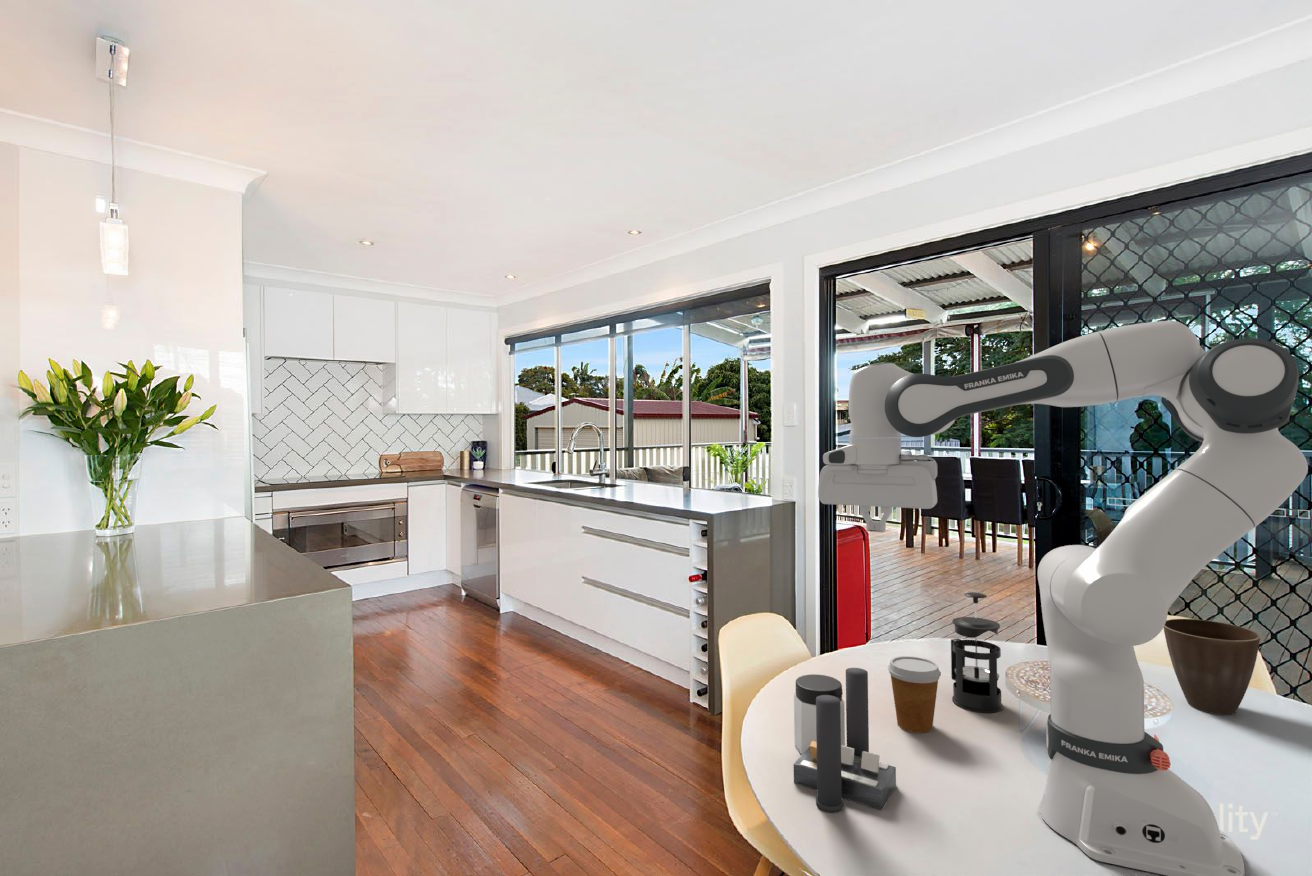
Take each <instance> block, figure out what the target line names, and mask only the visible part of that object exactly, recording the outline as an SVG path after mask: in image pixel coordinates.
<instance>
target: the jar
mask: <svg viewBox="0 0 1312 876" xmlns="http://www.w3.org/2000/svg"><path fill="white" fill-rule="evenodd" d="M820 695H831V696H835V697H837V698H839V699H840V711H841V745H843V746H846V735H845V733H846V723H845V722H846V718H845V717H846V716H845V715H846V712H845V700H844V699H843V684H842V682H841V681H840V680H839V679H837V678H835V677H832V676H830V675H829V676H828V675H825V674H814V673H813V674H805V675H801V676H799V677H797V678H796V679H795V692H793V713H794V714H793V715H794V716H793V717H794V718H793V719H794V721H793V724H794V725H793V726H794V727H793V728H794V734H793V735H794V745H795V747H796V748H797V750H798V751H799V753H800V756H801V755H802V754H803V753H804V752H805V751H806V750H807V749H808V748H809V747H810V744H811V742H812V741H816V697H818V696H820Z"/></svg>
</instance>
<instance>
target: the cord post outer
mask: <svg viewBox="0 0 1312 876" xmlns="http://www.w3.org/2000/svg"><path fill="white" fill-rule="evenodd" d="M816 742H817V791H816V796H815V804H816V807H817V809H819V810H821V811H822V812H826V813H829V814H830V813H832V814H833V813H834V814H835V813H839V812H841V811H842V810H843V809H844V798H842V780H841V711H840V699H839V698H837V697H835V696H831V695H820V696H818V697H816Z"/></svg>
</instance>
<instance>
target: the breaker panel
mask: <svg viewBox="0 0 1312 876" xmlns="http://www.w3.org/2000/svg"><path fill="white" fill-rule="evenodd" d="M861 761H862V757H859V756H855V755H854V760H853V765H848V764H845V763H841V780H842V799H846V800H848V801H851V802H855V803H858V804H861V805H865V806H866V807H867V806H868V807H871V808H874V809H877V810H880V811H883V809H884V808H885V806H886V804H887V802H888V801H889V799H890V797H891V796H892V793H893V792H894V790H895V789H896V787H897V770H896V769H897V767H895V766H893V765H890V764H888V763H884V762H880V761H879V771H878V772H873V771H870V770H866V769H863V768H861ZM793 783H794V784H797V785H800V786H804V787H807V788H810V789H813V790H817V759H815V758H812V756H811V751H810V747H809V748H808V749H807V750H806V751H805V752H804V753H803V754H802V755H801V754H800V756H799V757H798V759H797V760H796V761H795V762H794V763H793Z"/></svg>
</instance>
